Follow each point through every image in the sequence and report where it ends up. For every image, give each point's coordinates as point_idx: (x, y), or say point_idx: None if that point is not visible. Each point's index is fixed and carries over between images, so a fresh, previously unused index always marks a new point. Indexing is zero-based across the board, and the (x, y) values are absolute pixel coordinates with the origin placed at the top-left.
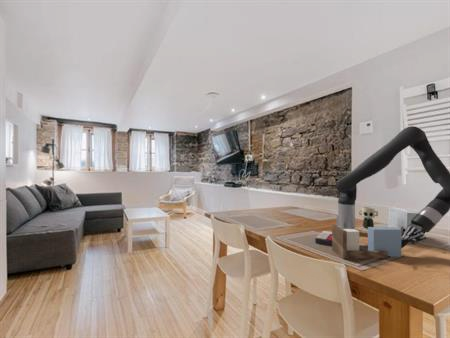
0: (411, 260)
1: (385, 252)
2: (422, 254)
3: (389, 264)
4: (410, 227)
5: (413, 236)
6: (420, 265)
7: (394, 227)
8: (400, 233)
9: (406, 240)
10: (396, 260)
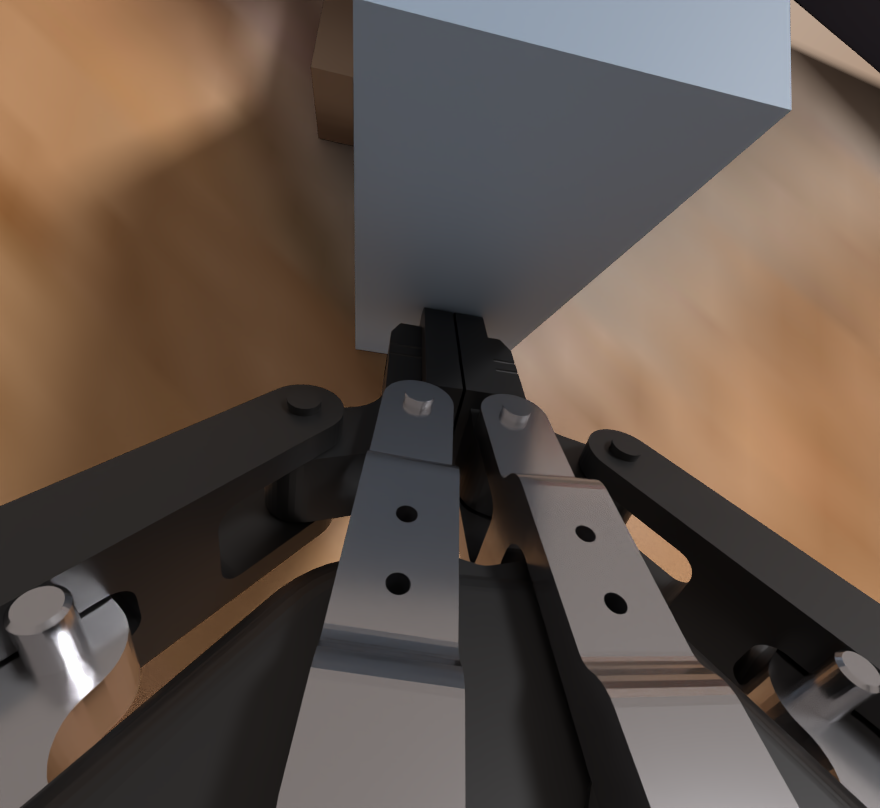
0: (221, 373)
1: (317, 41)
2: None
3: (155, 11)
4: (642, 793)
5: (199, 468)
6: (41, 335)
7: (735, 68)
8: (361, 107)
9: (376, 404)
10: (254, 189)
